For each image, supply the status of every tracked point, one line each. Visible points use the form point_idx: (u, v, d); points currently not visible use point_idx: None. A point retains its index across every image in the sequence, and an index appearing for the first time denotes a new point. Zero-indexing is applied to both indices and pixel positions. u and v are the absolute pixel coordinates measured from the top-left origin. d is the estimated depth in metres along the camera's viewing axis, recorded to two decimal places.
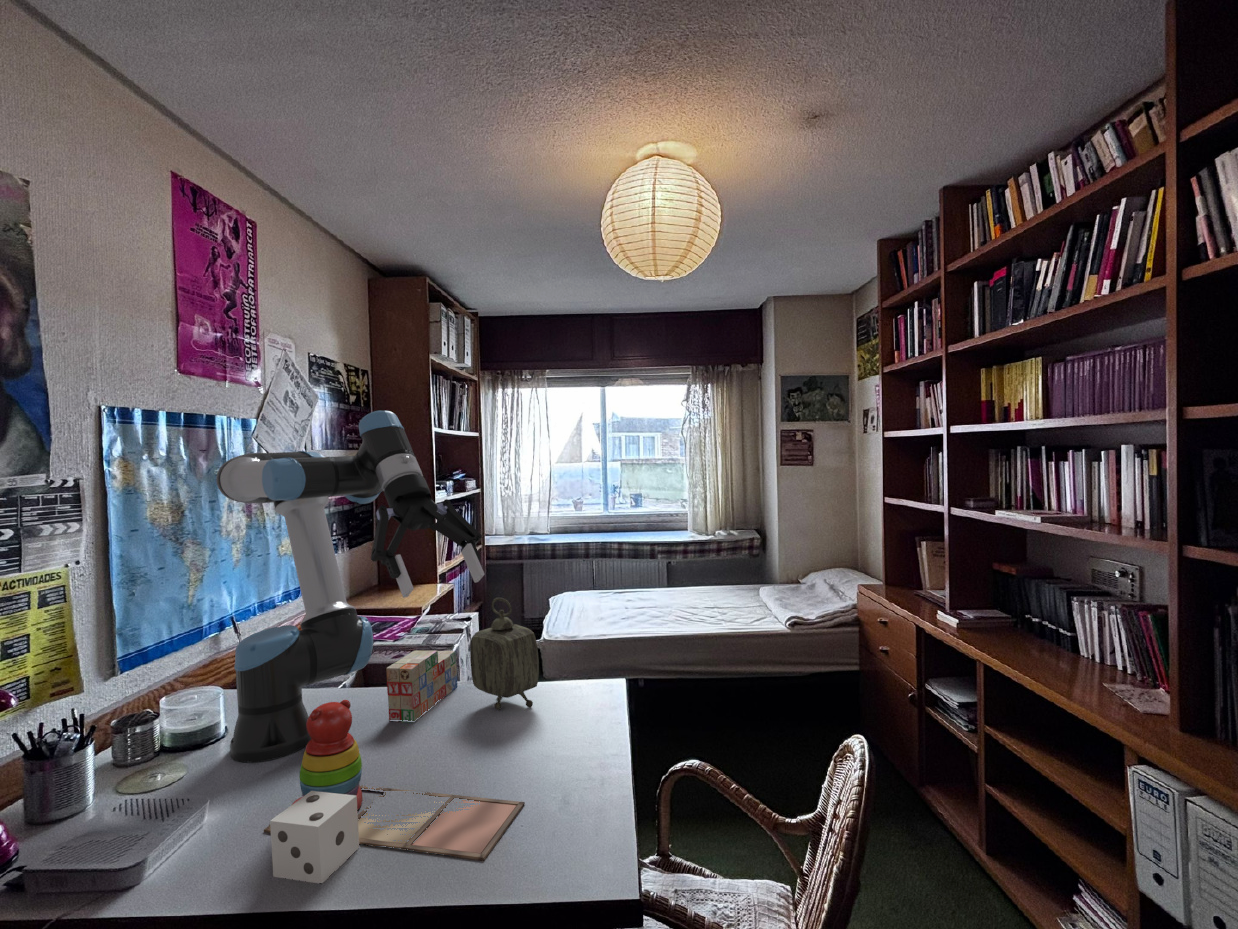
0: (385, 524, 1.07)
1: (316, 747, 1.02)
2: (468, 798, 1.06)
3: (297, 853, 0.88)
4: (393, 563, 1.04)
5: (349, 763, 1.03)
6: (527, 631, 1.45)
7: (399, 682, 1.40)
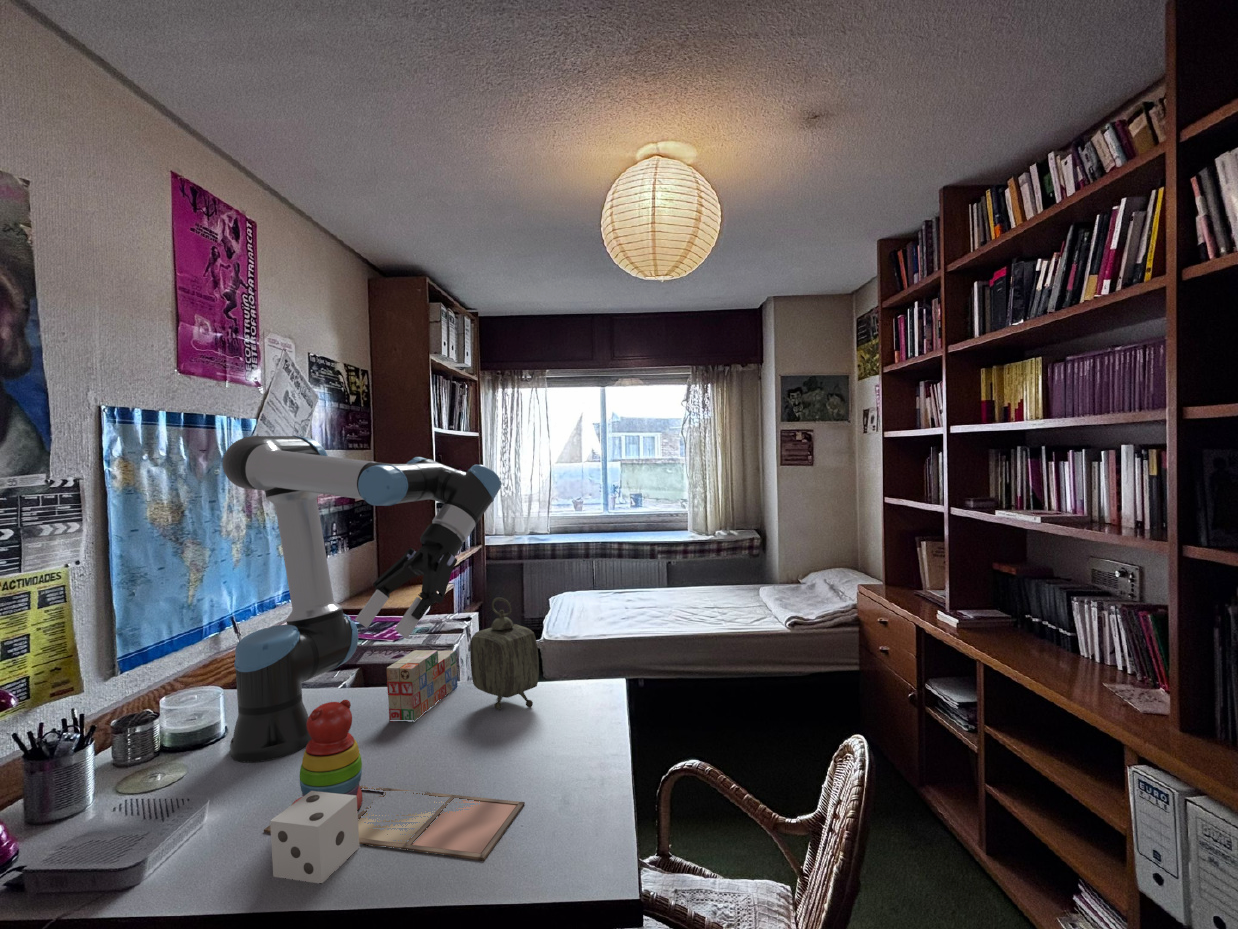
0: None
1: (316, 747, 1.02)
2: (468, 798, 1.06)
3: (297, 853, 0.88)
4: None
5: (349, 763, 1.03)
6: (527, 631, 1.45)
7: (399, 682, 1.40)
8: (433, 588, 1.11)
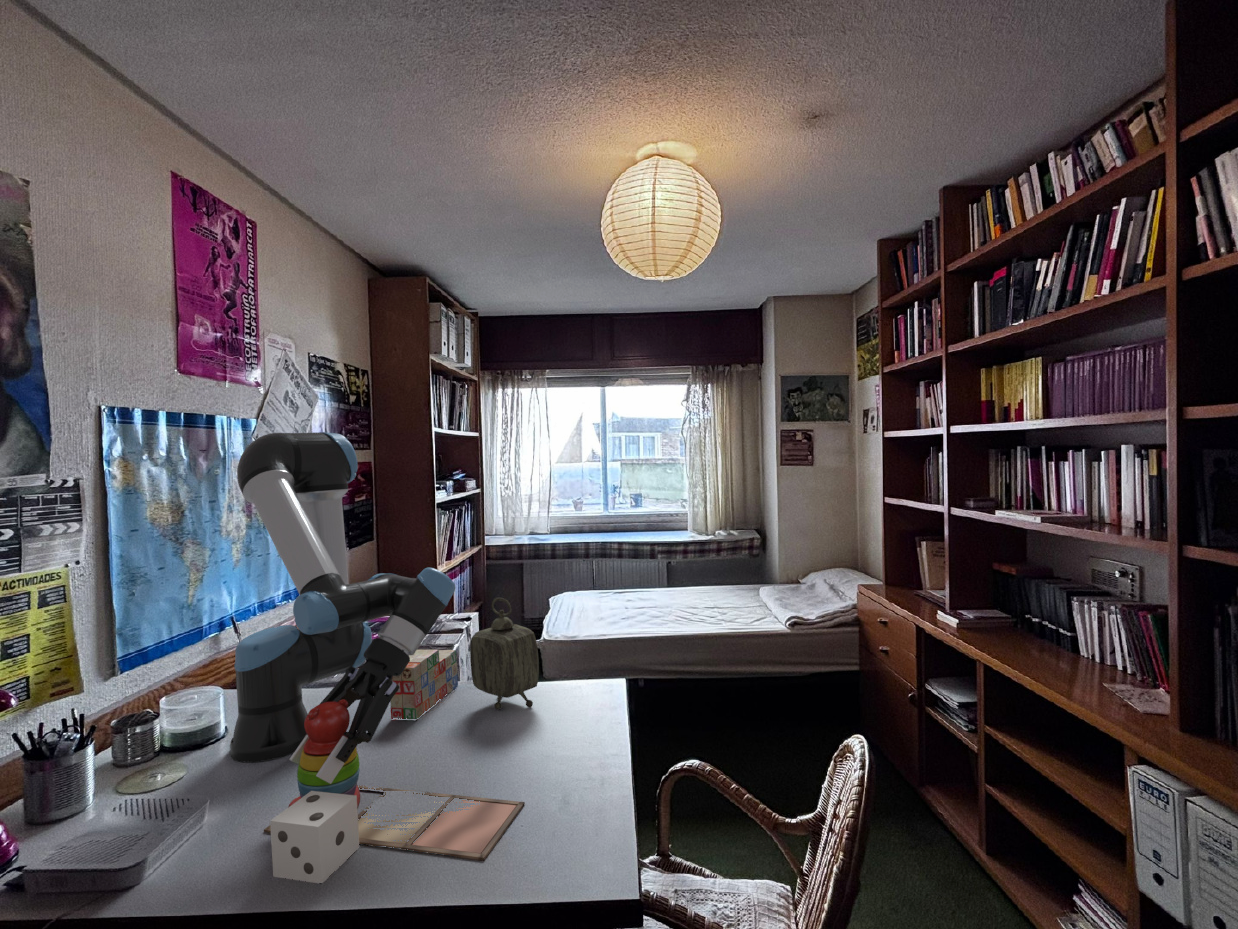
0: None
1: (314, 746, 1.02)
2: (468, 798, 1.06)
3: (297, 853, 0.88)
4: None
5: (346, 763, 1.03)
6: (527, 631, 1.45)
7: (401, 681, 1.41)
8: (361, 726, 1.02)
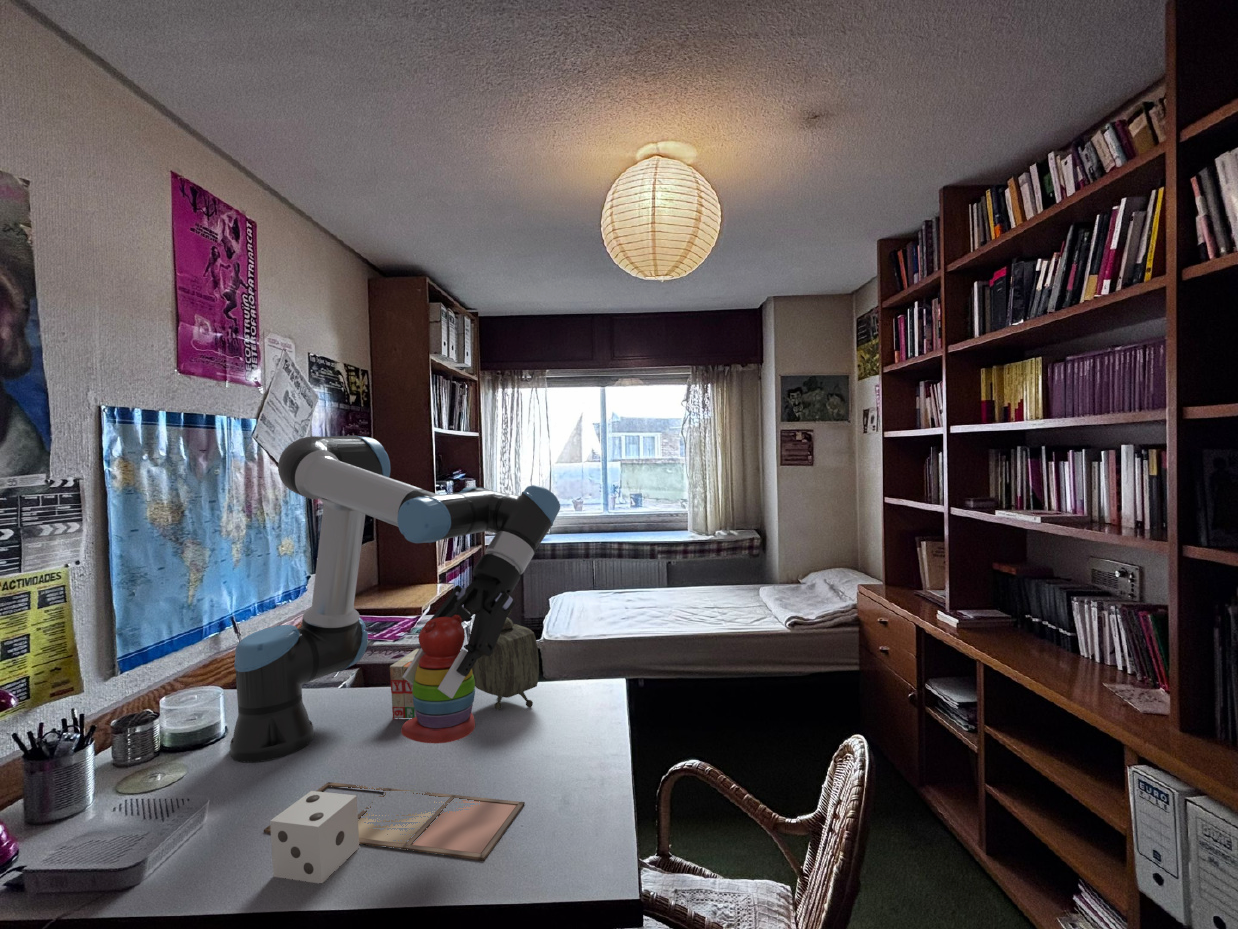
0: None
1: (431, 660, 0.96)
2: (468, 798, 1.06)
3: (297, 853, 0.88)
4: None
5: (465, 678, 0.97)
6: (527, 631, 1.45)
7: (403, 680, 1.41)
8: (482, 639, 0.96)
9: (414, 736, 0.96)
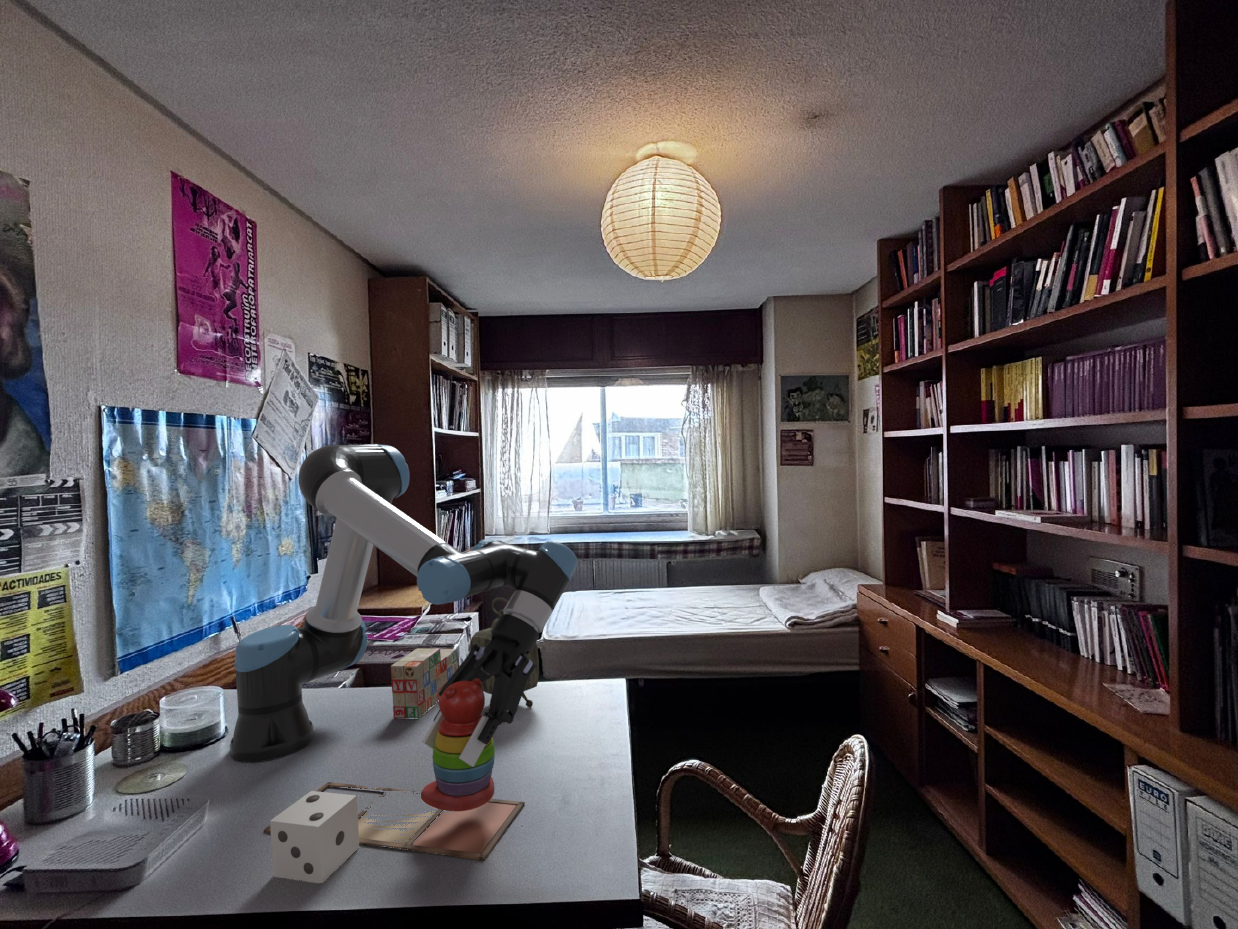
0: None
1: (452, 727, 0.96)
2: None
3: (297, 853, 0.88)
4: None
5: (485, 745, 0.97)
6: None
7: (404, 679, 1.41)
8: (503, 706, 0.96)
9: (434, 803, 0.95)
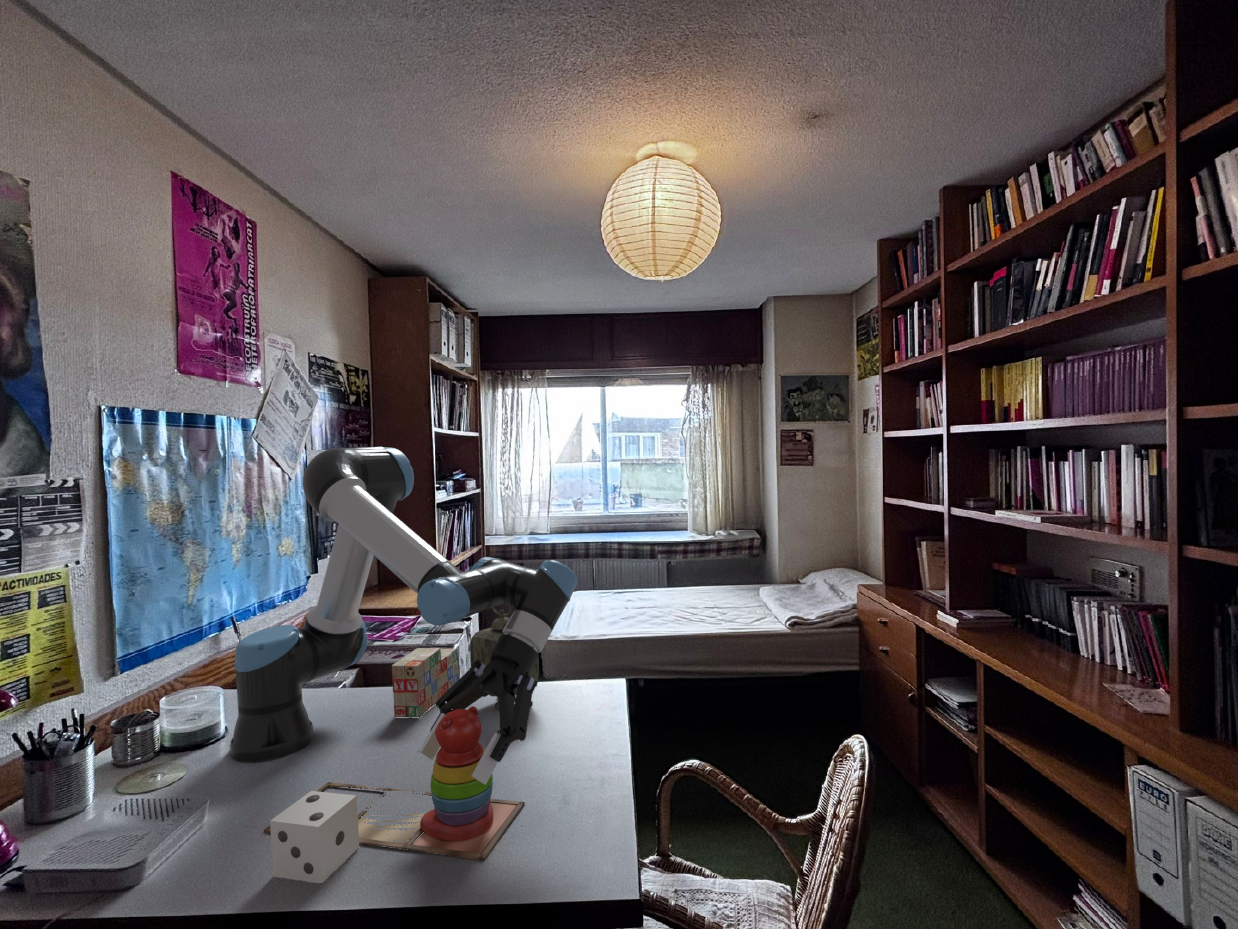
0: None
1: (449, 757, 0.96)
2: None
3: (297, 853, 0.88)
4: None
5: None
6: None
7: (405, 679, 1.42)
8: (514, 724, 0.95)
9: (434, 833, 0.96)
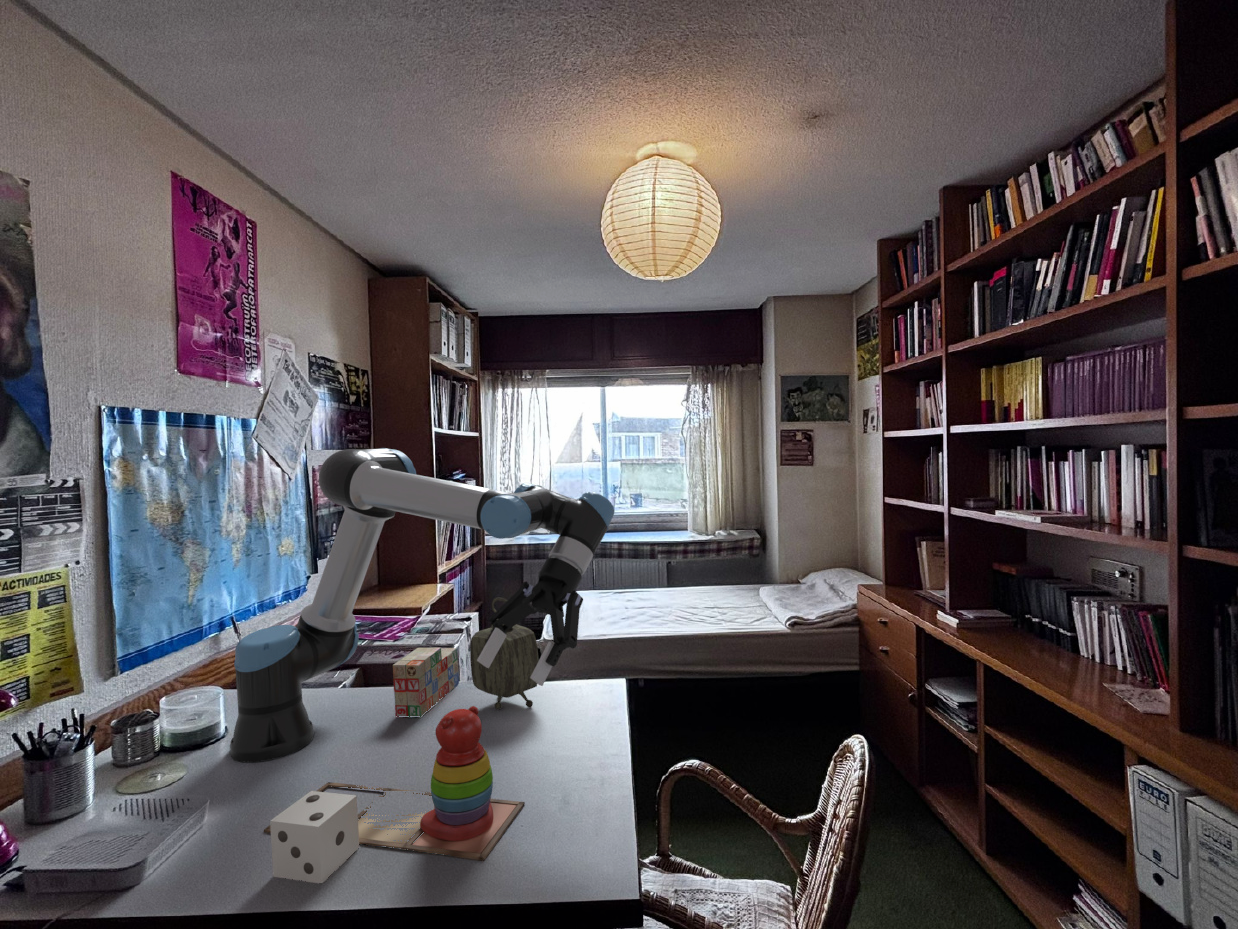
0: None
1: (449, 757, 0.96)
2: None
3: (297, 853, 0.88)
4: None
5: (483, 773, 0.97)
6: (527, 631, 1.45)
7: (406, 678, 1.42)
8: (566, 633, 1.06)
9: (434, 833, 0.96)
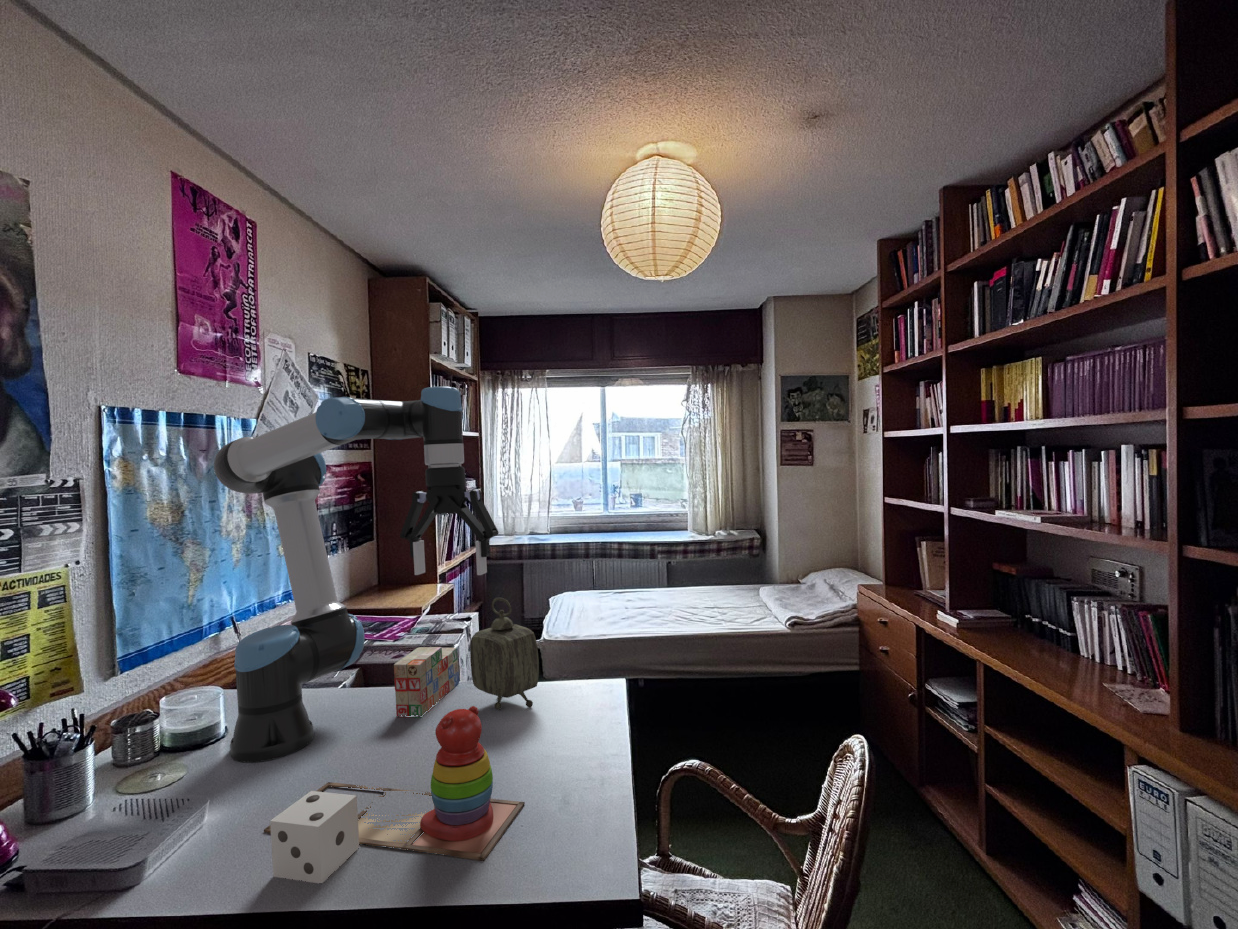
0: None
1: (449, 757, 0.96)
2: None
3: (297, 853, 0.88)
4: None
5: (483, 773, 0.97)
6: (527, 631, 1.45)
7: (407, 678, 1.42)
8: (487, 530, 1.22)
9: (434, 833, 0.96)
